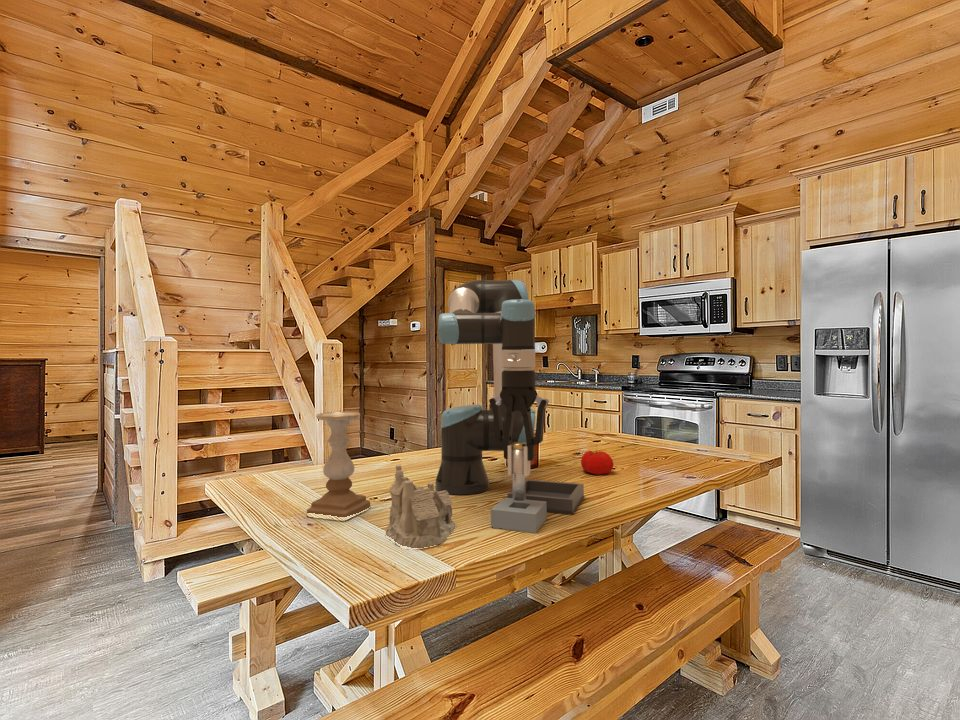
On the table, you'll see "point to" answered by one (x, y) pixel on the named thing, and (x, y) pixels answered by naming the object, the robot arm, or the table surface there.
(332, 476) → the candle holder
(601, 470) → the tomato
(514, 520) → the pin block
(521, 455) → the pin
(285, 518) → the table surface
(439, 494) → the ceramic cottage
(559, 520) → the table surface
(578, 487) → the tray
